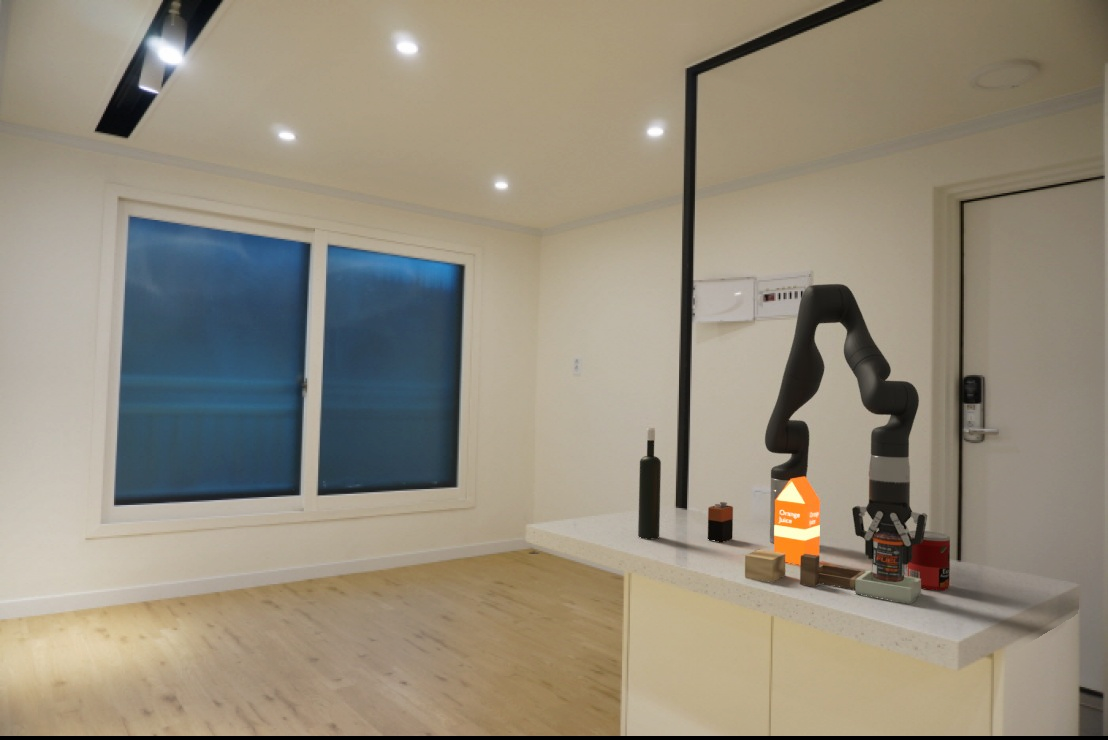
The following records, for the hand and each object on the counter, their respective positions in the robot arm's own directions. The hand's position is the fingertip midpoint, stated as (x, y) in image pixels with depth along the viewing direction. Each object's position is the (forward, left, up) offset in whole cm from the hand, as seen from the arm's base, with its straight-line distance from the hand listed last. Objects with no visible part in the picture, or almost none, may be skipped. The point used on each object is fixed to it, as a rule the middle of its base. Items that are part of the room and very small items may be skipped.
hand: (888, 560), depth 142 cm
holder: (-3, -11, -7) cm, 13 cm away
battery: (-25, -48, -7) cm, 54 cm away
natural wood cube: (+4, -24, -7) cm, 25 cm away
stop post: (+4, -14, -7) cm, 16 cm away
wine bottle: (-14, -64, -7) cm, 66 cm away
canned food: (-13, +5, -7) cm, 16 cm away
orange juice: (-16, -24, -7) cm, 30 cm away
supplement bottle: (0, 0, -4) cm, 4 cm away
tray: (0, 0, -7) cm, 7 cm away
